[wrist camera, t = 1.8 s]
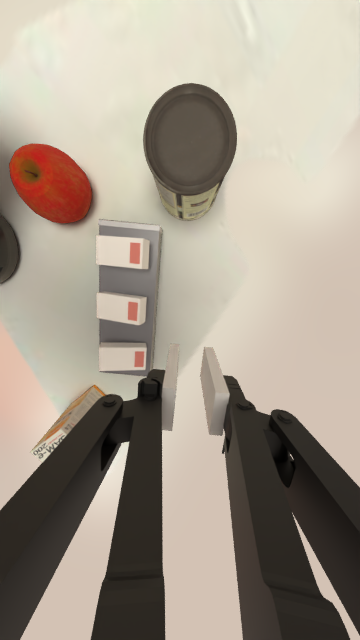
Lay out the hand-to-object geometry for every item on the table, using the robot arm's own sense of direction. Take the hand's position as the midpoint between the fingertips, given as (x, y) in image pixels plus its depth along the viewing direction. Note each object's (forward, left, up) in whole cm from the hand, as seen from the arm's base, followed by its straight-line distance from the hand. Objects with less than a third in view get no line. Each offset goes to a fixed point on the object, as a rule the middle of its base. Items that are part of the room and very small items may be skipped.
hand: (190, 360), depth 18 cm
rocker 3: (-11, -9, -19) cm, 24 cm away
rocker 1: (-11, +9, -19) cm, 24 cm away
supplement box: (-20, -24, -25) cm, 40 cm away
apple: (-23, +18, -25) cm, 38 cm away
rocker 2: (-11, 0, -19) cm, 22 cm away
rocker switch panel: (-11, 0, -24) cm, 27 cm away
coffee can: (-2, +21, -25) cm, 32 cm away
